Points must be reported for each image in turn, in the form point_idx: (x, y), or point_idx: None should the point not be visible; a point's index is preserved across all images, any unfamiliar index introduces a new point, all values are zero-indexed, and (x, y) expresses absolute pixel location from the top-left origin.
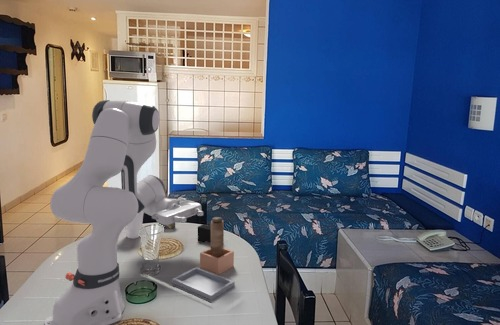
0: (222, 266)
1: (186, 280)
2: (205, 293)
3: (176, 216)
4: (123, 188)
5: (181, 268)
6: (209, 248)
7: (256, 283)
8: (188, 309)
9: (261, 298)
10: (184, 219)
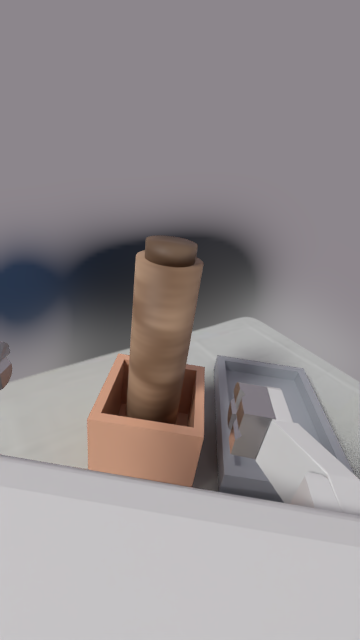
0: None
1: None
2: (308, 380)
3: (326, 480)
4: None
5: None
6: (136, 425)
7: None
8: (357, 406)
9: (211, 331)
10: (264, 389)
